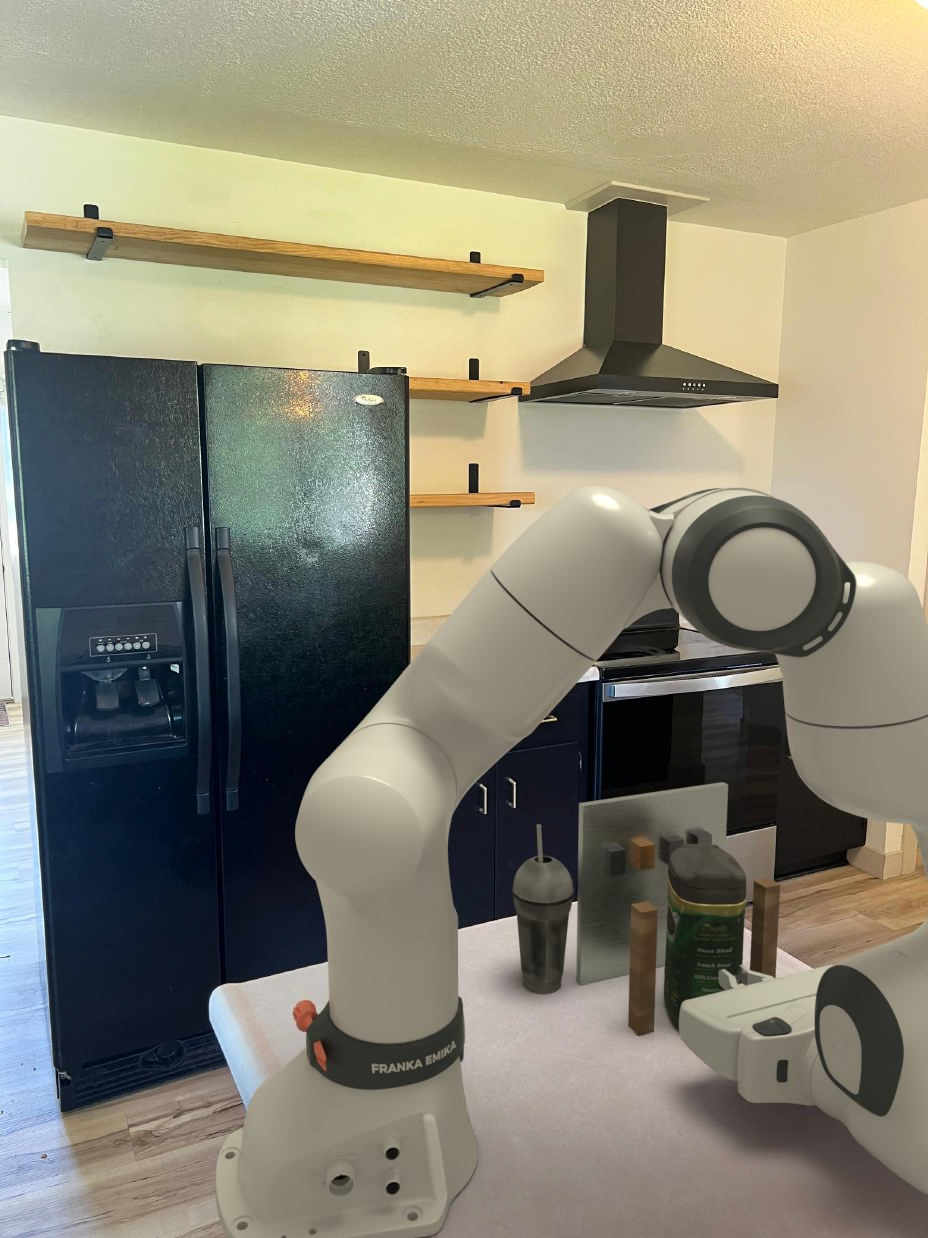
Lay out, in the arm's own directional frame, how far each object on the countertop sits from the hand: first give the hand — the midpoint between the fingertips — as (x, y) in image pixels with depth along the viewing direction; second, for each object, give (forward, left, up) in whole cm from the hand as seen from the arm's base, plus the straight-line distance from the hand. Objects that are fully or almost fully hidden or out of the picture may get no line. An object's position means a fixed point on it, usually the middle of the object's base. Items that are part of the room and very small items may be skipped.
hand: (729, 973), depth 95 cm
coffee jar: (0, +4, -7) cm, 8 cm away
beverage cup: (-14, +16, -7) cm, 23 cm away
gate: (0, +4, -7) cm, 8 cm away
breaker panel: (0, +15, -7) cm, 16 cm away
